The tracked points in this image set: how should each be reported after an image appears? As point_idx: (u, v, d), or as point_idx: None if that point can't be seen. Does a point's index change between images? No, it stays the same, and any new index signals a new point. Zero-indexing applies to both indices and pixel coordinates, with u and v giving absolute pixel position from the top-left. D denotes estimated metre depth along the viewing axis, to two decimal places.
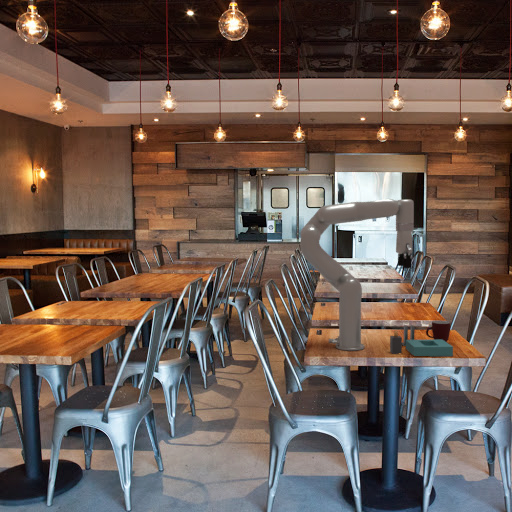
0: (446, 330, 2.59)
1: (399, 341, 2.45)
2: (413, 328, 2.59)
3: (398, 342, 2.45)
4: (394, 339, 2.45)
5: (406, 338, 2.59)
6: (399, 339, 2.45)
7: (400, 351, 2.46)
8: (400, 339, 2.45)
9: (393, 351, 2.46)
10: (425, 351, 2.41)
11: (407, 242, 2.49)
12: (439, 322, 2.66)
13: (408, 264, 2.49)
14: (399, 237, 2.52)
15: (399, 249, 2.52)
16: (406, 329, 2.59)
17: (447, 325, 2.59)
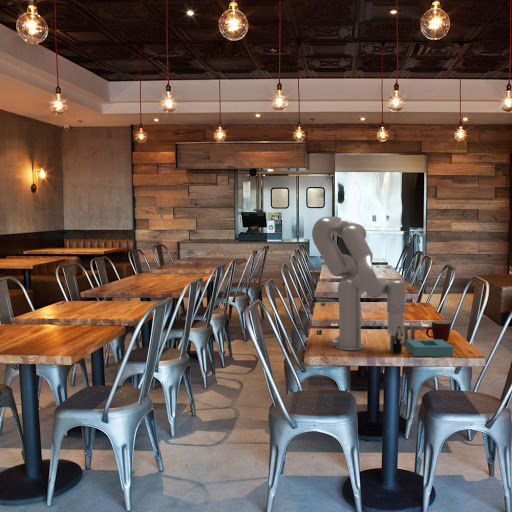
0: (446, 330, 2.59)
1: None
2: (413, 328, 2.59)
3: None
4: None
5: (406, 338, 2.59)
6: None
7: None
8: None
9: None
10: (425, 351, 2.41)
11: (398, 325, 2.42)
12: (439, 322, 2.66)
13: (398, 349, 2.44)
14: (390, 319, 2.45)
15: (390, 331, 2.45)
16: (406, 329, 2.59)
17: (447, 325, 2.59)
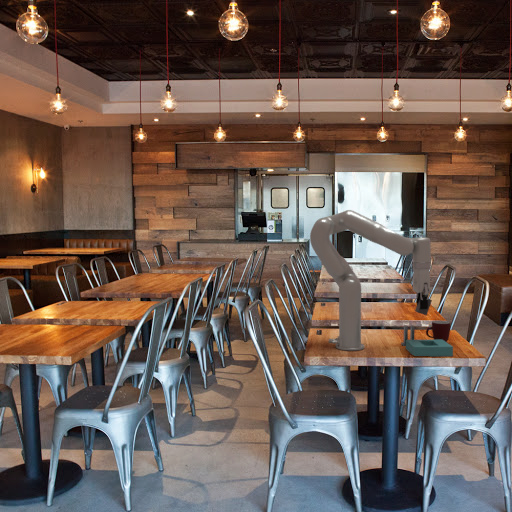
0: (446, 330, 2.59)
1: (428, 303, 2.49)
2: (413, 328, 2.59)
3: None
4: None
5: (406, 338, 2.59)
6: (428, 301, 2.49)
7: (426, 312, 2.50)
8: (430, 301, 2.49)
9: (419, 310, 2.50)
10: (425, 351, 2.41)
11: (425, 282, 2.46)
12: (439, 322, 2.66)
13: (425, 305, 2.48)
14: (416, 276, 2.49)
15: (417, 288, 2.49)
16: (406, 329, 2.59)
17: (447, 325, 2.59)
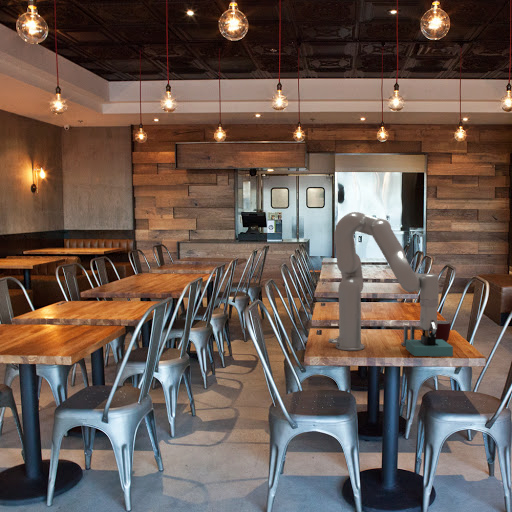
0: (446, 330, 2.59)
1: None
2: (413, 328, 2.59)
3: None
4: (425, 339, 2.45)
5: (406, 338, 2.59)
6: None
7: None
8: None
9: None
10: (425, 351, 2.41)
11: (432, 319, 2.42)
12: (439, 322, 2.66)
13: (432, 342, 2.42)
14: (423, 313, 2.45)
15: (423, 325, 2.45)
16: (406, 329, 2.59)
17: (447, 325, 2.59)
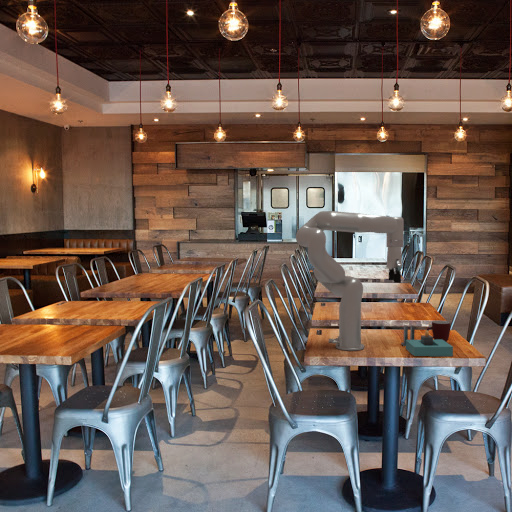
0: (446, 330, 2.59)
1: (430, 341, 2.45)
2: (413, 328, 2.59)
3: (429, 342, 2.45)
4: (425, 339, 2.45)
5: (406, 338, 2.59)
6: (430, 339, 2.45)
7: None
8: (431, 339, 2.45)
9: None
10: (425, 351, 2.41)
11: (397, 258, 2.60)
12: (439, 322, 2.66)
13: (398, 279, 2.60)
14: (389, 253, 2.63)
15: (389, 264, 2.63)
16: (406, 329, 2.59)
17: (447, 325, 2.59)
